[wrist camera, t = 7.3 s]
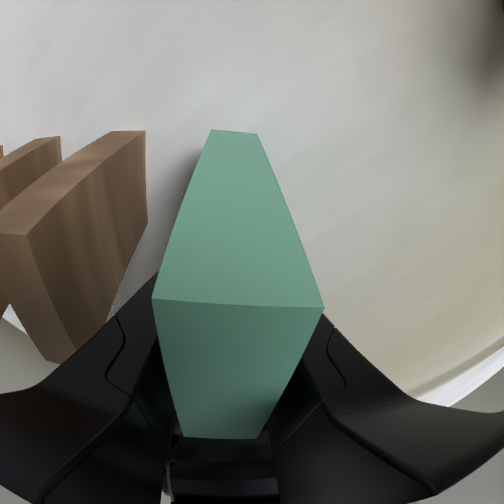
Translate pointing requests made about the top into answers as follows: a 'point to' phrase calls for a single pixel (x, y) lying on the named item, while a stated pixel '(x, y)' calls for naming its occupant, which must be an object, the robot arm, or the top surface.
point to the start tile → (233, 293)
